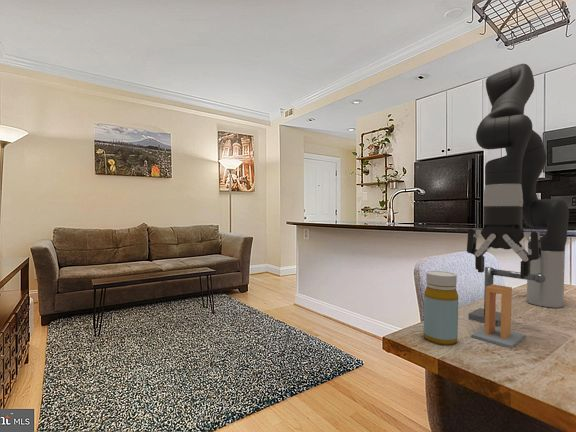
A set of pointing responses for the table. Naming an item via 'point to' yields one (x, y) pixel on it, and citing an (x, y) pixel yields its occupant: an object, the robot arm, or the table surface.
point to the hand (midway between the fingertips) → (501, 274)
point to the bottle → (441, 308)
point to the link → (491, 309)
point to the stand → (489, 274)
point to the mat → (496, 335)
